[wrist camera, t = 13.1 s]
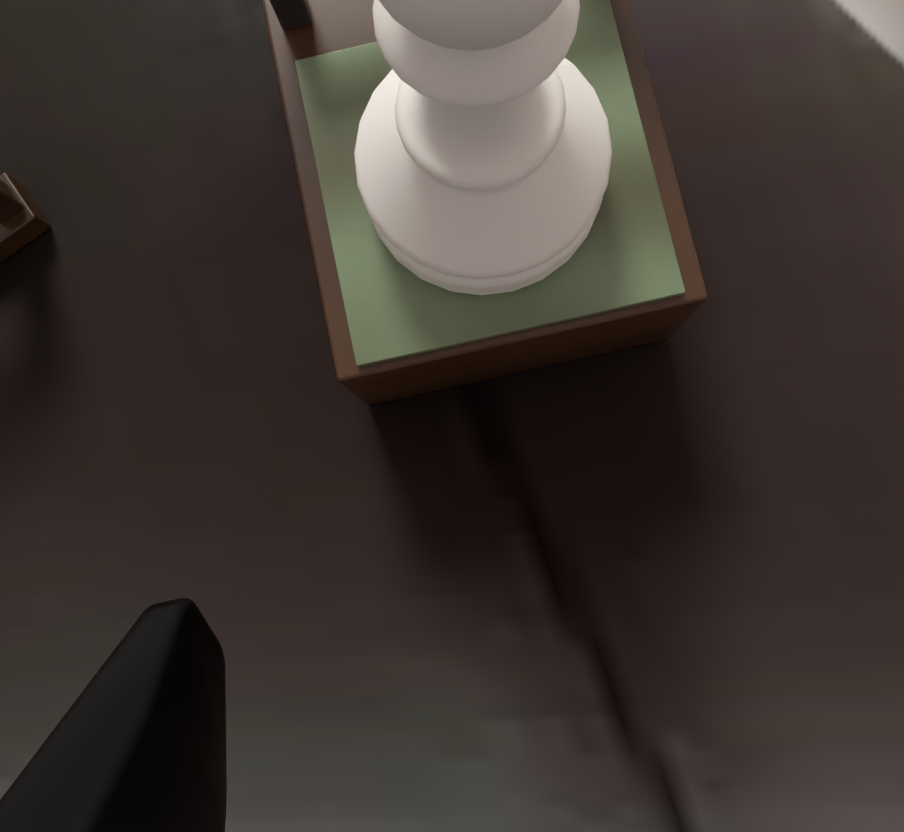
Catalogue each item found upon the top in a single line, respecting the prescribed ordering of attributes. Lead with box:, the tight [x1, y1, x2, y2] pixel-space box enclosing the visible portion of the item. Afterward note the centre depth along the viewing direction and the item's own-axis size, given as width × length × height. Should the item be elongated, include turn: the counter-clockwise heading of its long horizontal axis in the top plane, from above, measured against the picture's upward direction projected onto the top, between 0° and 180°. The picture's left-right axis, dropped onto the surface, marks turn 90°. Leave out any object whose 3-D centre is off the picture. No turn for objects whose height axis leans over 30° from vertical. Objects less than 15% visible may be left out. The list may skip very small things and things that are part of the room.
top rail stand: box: [262, 0, 707, 405], centre depth 18 cm, size 9×8×6 cm
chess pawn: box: [354, 0, 612, 295], centre depth 12 cm, size 5×5×9 cm
